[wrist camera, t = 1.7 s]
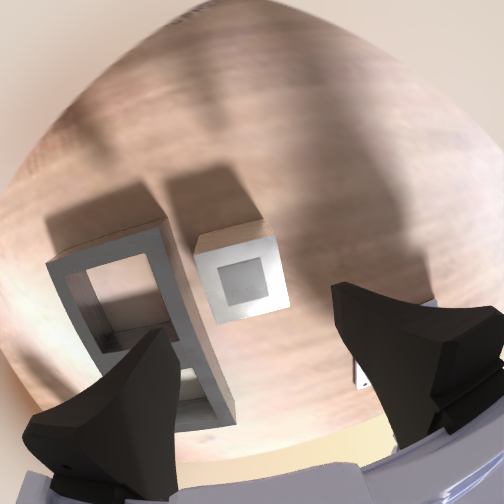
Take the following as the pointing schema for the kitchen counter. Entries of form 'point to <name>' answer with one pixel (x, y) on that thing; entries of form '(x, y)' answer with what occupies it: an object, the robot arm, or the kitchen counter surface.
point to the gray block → (241, 271)
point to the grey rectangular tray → (120, 343)
